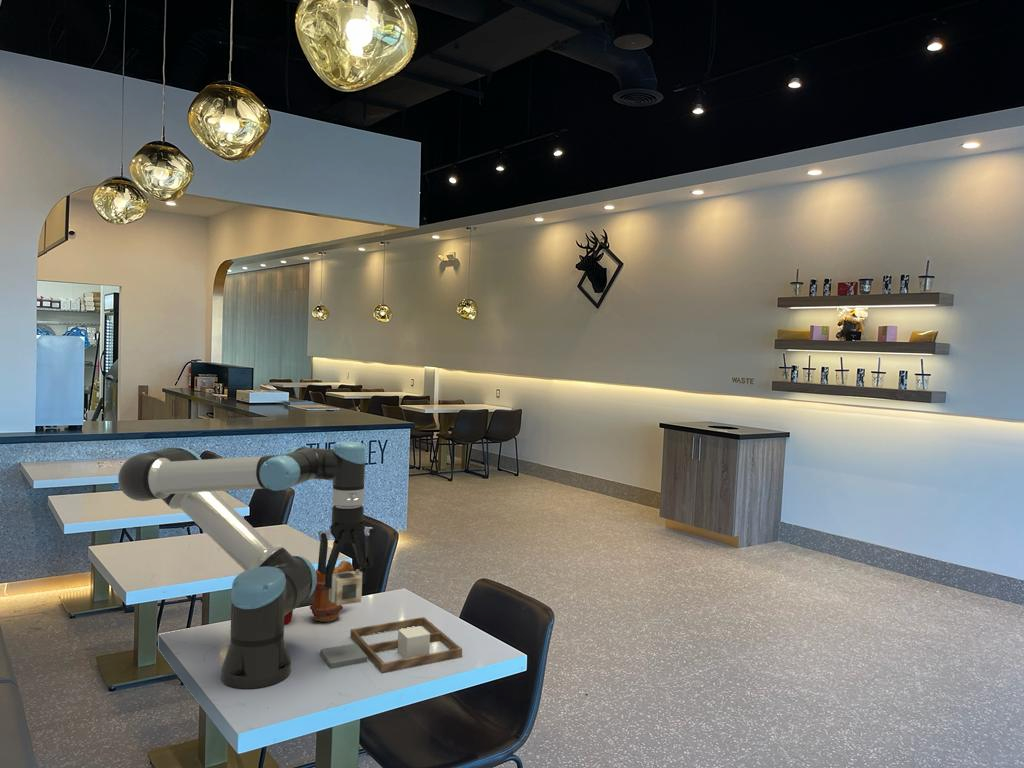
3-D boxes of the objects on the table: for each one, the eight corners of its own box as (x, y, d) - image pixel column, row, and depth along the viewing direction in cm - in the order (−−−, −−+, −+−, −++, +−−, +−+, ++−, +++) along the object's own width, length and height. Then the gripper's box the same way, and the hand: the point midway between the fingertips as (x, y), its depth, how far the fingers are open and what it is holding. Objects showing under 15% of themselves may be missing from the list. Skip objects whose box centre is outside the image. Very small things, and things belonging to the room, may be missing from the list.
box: (381, 673, 168) (382, 664, 168) (350, 636, 188) (350, 629, 188) (461, 656, 178) (462, 648, 178) (423, 624, 199) (424, 617, 199)
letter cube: (336, 605, 171) (337, 580, 170) (329, 597, 176) (330, 573, 176) (361, 602, 174) (361, 577, 174) (353, 594, 179) (353, 570, 179)
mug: (323, 627, 194) (324, 573, 193) (302, 620, 198) (304, 567, 198) (361, 612, 206) (363, 561, 206) (341, 606, 211) (343, 556, 210)
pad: (330, 668, 169) (330, 663, 169) (320, 654, 177) (320, 649, 177) (367, 661, 174) (367, 656, 174) (355, 647, 182) (355, 643, 181)
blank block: (406, 662, 174) (407, 638, 174) (397, 653, 180) (398, 629, 179) (429, 657, 177) (429, 634, 177) (419, 648, 183) (420, 625, 182)
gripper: (313, 511, 166) (310, 609, 167) (390, 505, 176) (387, 598, 177) (304, 505, 172) (302, 599, 173) (379, 499, 182) (376, 589, 183)
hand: (345, 598), depth 175 cm, fingers closed on letter cube, 6 cm apart
